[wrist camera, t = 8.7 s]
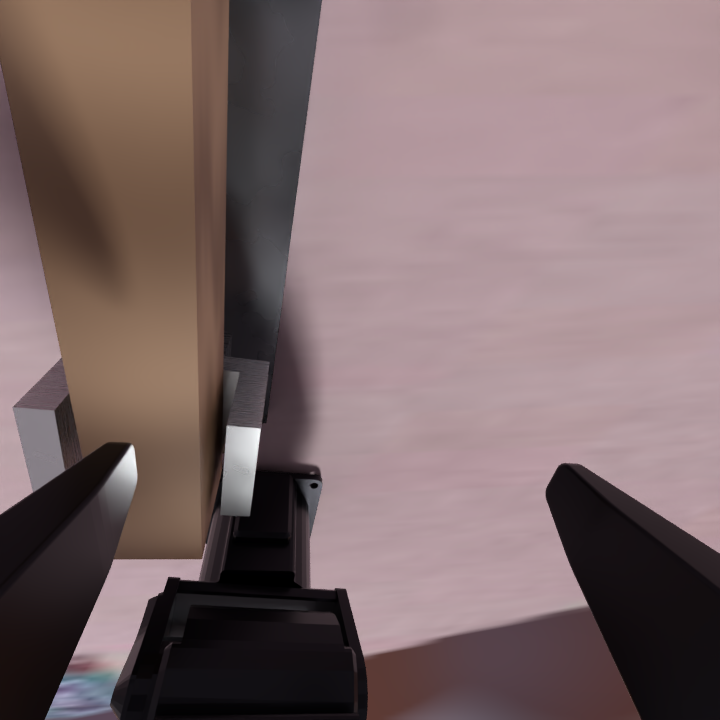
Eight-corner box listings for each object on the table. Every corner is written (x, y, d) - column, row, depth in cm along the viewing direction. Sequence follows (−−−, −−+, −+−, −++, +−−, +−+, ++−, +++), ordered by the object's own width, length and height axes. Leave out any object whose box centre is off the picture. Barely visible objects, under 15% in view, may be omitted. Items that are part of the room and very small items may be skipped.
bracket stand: (267, 411, 22) (252, 543, 15) (125, 397, 21) (37, 537, 14) (356, -267, 11) (446, -892, 4) (64, -401, 10) (-532, -1699, 3)
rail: (222, 471, 17) (201, 559, 14) (144, 468, 17) (104, 559, 13) (237, -538, 6) (165, -1264, 3) (22, -643, 6) (-363, -1689, 2)
